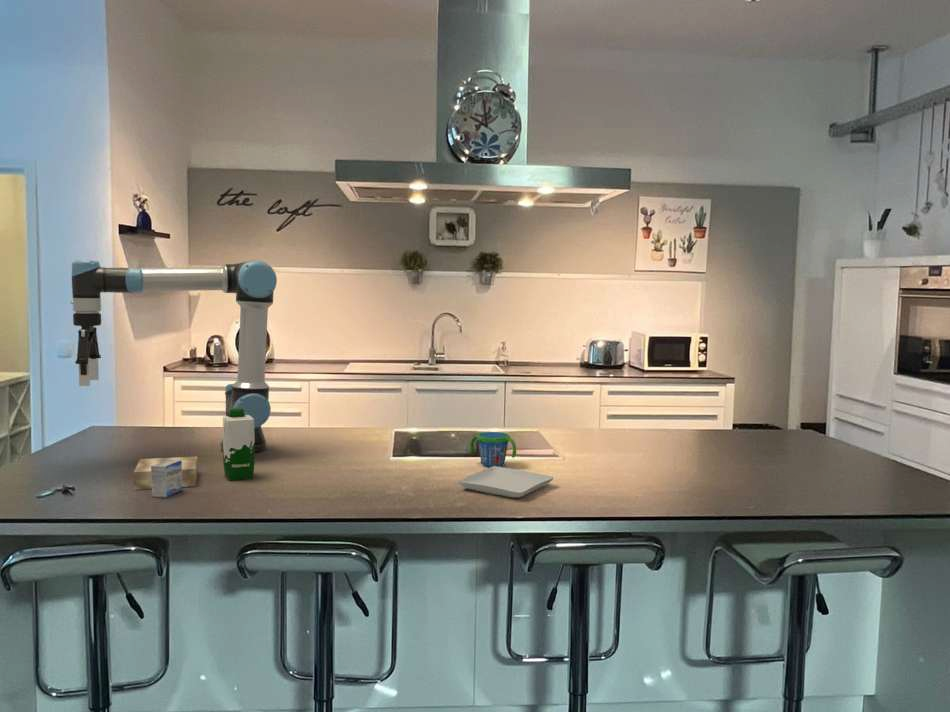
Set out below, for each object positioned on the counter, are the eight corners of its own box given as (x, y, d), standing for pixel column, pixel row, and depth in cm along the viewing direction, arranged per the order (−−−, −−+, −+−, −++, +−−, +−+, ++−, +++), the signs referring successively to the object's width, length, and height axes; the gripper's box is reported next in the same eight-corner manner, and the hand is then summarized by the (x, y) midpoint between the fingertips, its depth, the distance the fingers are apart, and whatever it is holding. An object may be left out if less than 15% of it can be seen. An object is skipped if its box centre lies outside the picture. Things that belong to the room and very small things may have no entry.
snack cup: (463, 465, 253) (464, 434, 252) (480, 459, 262) (480, 429, 261) (505, 472, 245) (506, 440, 244) (521, 465, 254) (522, 434, 253)
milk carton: (250, 472, 239) (250, 407, 237) (257, 479, 231) (256, 412, 229) (221, 474, 235) (220, 409, 233) (226, 482, 227) (225, 414, 225)
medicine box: (166, 498, 209) (165, 466, 209) (151, 496, 210) (150, 465, 209) (182, 490, 217) (182, 459, 216) (168, 489, 218) (167, 458, 217)
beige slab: (197, 472, 237) (197, 456, 236) (195, 486, 222) (195, 468, 221) (140, 475, 232) (140, 459, 231) (134, 489, 217) (133, 472, 216)
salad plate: (520, 503, 212) (521, 491, 212) (455, 491, 223) (455, 479, 223) (555, 487, 230) (555, 475, 230) (493, 476, 241) (493, 465, 241)
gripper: (81, 310, 244) (84, 377, 246) (63, 314, 220) (66, 388, 222) (108, 310, 246) (110, 377, 248) (92, 314, 222) (95, 388, 224)
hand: (89, 382), depth 235 cm, fingers open, 13 cm apart
